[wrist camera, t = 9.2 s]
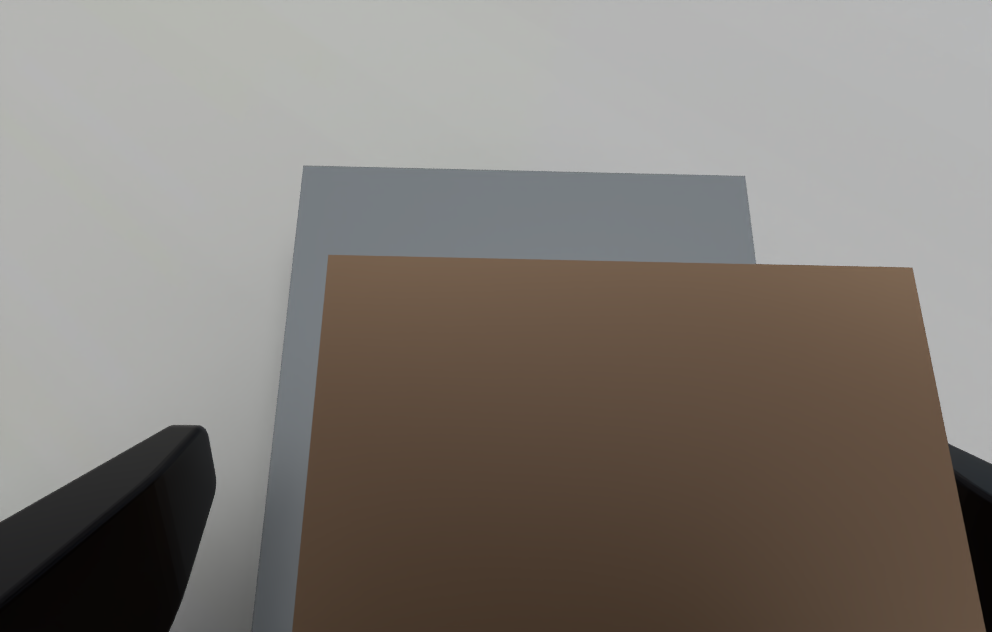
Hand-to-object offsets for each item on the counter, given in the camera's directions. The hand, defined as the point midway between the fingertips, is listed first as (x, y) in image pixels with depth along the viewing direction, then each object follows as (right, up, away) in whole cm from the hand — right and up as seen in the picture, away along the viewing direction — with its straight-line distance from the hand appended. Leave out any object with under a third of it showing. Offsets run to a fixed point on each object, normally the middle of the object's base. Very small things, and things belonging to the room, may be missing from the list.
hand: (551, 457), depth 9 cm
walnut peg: (0, -4, +7) cm, 8 cm away
